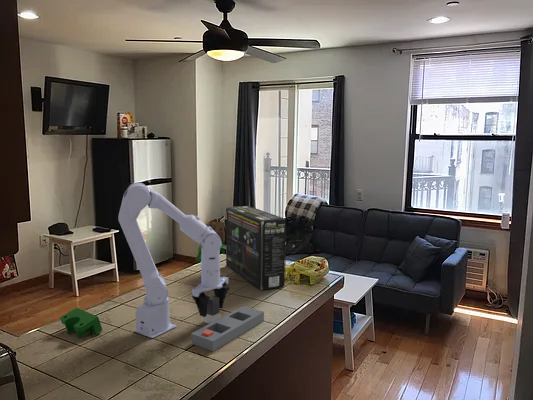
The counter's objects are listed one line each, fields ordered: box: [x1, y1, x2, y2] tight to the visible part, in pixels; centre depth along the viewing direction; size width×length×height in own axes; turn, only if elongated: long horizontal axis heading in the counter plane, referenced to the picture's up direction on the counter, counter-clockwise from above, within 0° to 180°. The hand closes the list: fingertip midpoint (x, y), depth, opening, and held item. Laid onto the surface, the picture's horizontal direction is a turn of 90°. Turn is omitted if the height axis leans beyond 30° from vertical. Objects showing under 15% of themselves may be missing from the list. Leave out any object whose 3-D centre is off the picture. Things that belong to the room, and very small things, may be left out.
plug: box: [202, 294, 221, 325], centre depth 137 cm, size 3×4×8 cm
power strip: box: [190, 305, 265, 352], centre depth 130 cm, size 24×8×4 cm, turn 145°
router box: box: [225, 205, 287, 291], centre depth 180 cm, size 36×11×27 cm, turn 27°
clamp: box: [60, 307, 103, 340], centre depth 129 cm, size 12×6×9 cm, turn 48°
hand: (211, 311), depth 137 cm, fingers open, 7 cm apart
